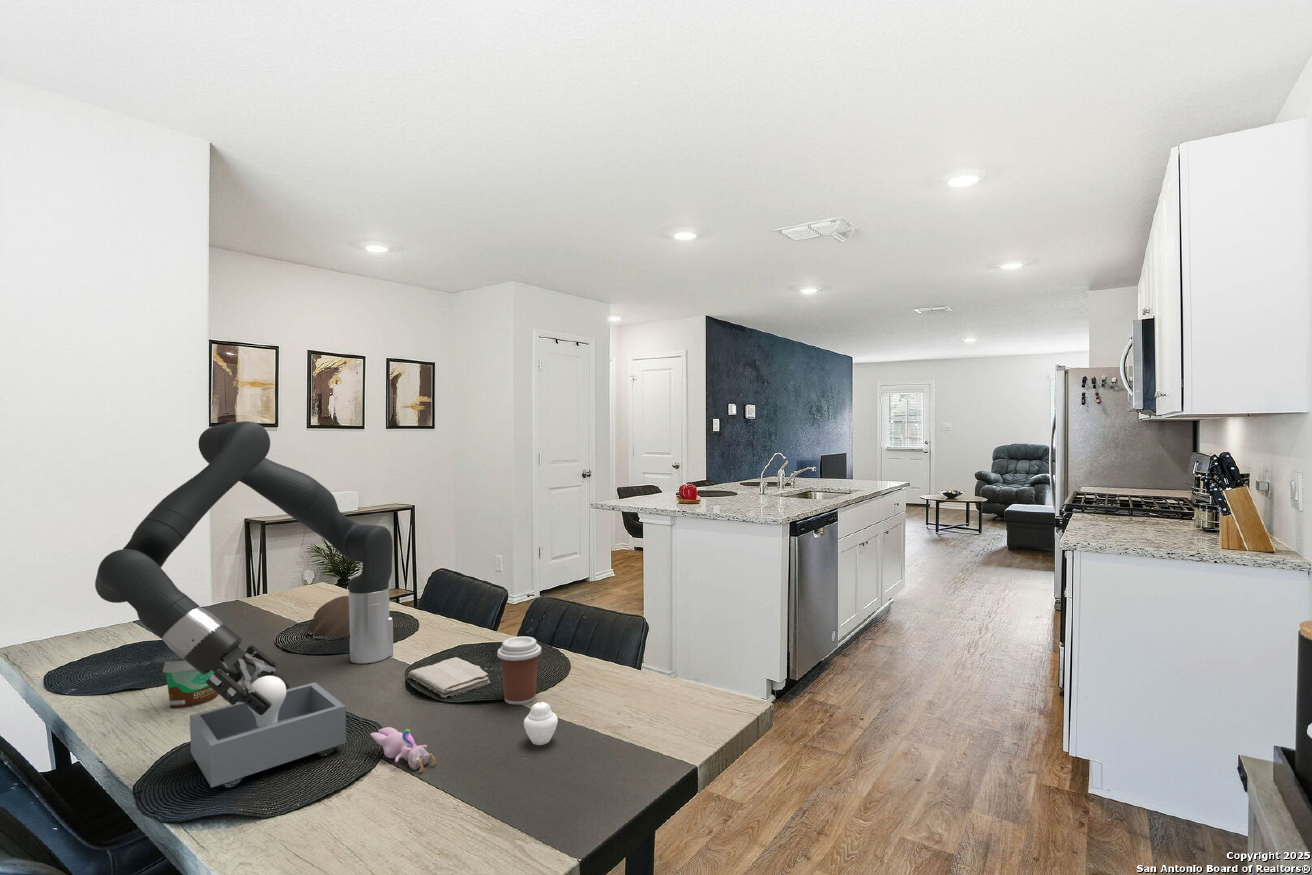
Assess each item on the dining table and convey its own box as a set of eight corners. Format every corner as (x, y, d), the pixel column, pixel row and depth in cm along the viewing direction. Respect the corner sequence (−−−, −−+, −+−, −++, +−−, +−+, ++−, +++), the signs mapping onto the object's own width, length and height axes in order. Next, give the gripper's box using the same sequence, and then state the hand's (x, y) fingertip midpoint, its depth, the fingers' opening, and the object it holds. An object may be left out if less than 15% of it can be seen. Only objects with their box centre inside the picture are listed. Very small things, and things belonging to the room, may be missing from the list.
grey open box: (316, 723, 126) (315, 682, 126) (346, 751, 115) (345, 705, 115) (190, 761, 112) (189, 714, 112) (211, 797, 100) (210, 745, 100)
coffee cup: (550, 693, 139) (549, 637, 139) (525, 710, 130) (524, 650, 130) (516, 686, 143) (515, 632, 142) (488, 702, 134) (487, 645, 134)
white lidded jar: (542, 752, 113) (541, 712, 113) (516, 743, 116) (515, 705, 116) (565, 737, 118) (564, 699, 118) (539, 730, 122) (539, 693, 122)
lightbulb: (295, 733, 115) (294, 672, 114) (265, 750, 109) (262, 686, 109) (270, 728, 117) (268, 668, 117) (238, 744, 111) (236, 681, 111)
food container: (188, 713, 131) (187, 664, 131) (163, 711, 133) (162, 662, 132) (239, 689, 143) (238, 644, 143) (215, 687, 145) (214, 643, 145)
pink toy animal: (443, 769, 111) (389, 734, 119) (446, 736, 110) (392, 703, 118) (411, 786, 106) (357, 748, 114) (414, 751, 105) (360, 716, 113)
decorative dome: (292, 642, 177) (291, 605, 177) (330, 620, 197) (329, 588, 197) (362, 641, 176) (362, 604, 176) (393, 620, 196) (393, 587, 196)
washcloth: (445, 702, 136) (445, 687, 136) (406, 680, 149) (405, 667, 149) (494, 685, 145) (494, 671, 145) (453, 666, 157) (453, 653, 157)
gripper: (198, 635, 105) (277, 700, 107) (237, 612, 119) (306, 669, 121) (162, 671, 104) (242, 735, 106) (206, 643, 118) (276, 700, 120)
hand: (276, 700), depth 113 cm, fingers open, 8 cm apart
